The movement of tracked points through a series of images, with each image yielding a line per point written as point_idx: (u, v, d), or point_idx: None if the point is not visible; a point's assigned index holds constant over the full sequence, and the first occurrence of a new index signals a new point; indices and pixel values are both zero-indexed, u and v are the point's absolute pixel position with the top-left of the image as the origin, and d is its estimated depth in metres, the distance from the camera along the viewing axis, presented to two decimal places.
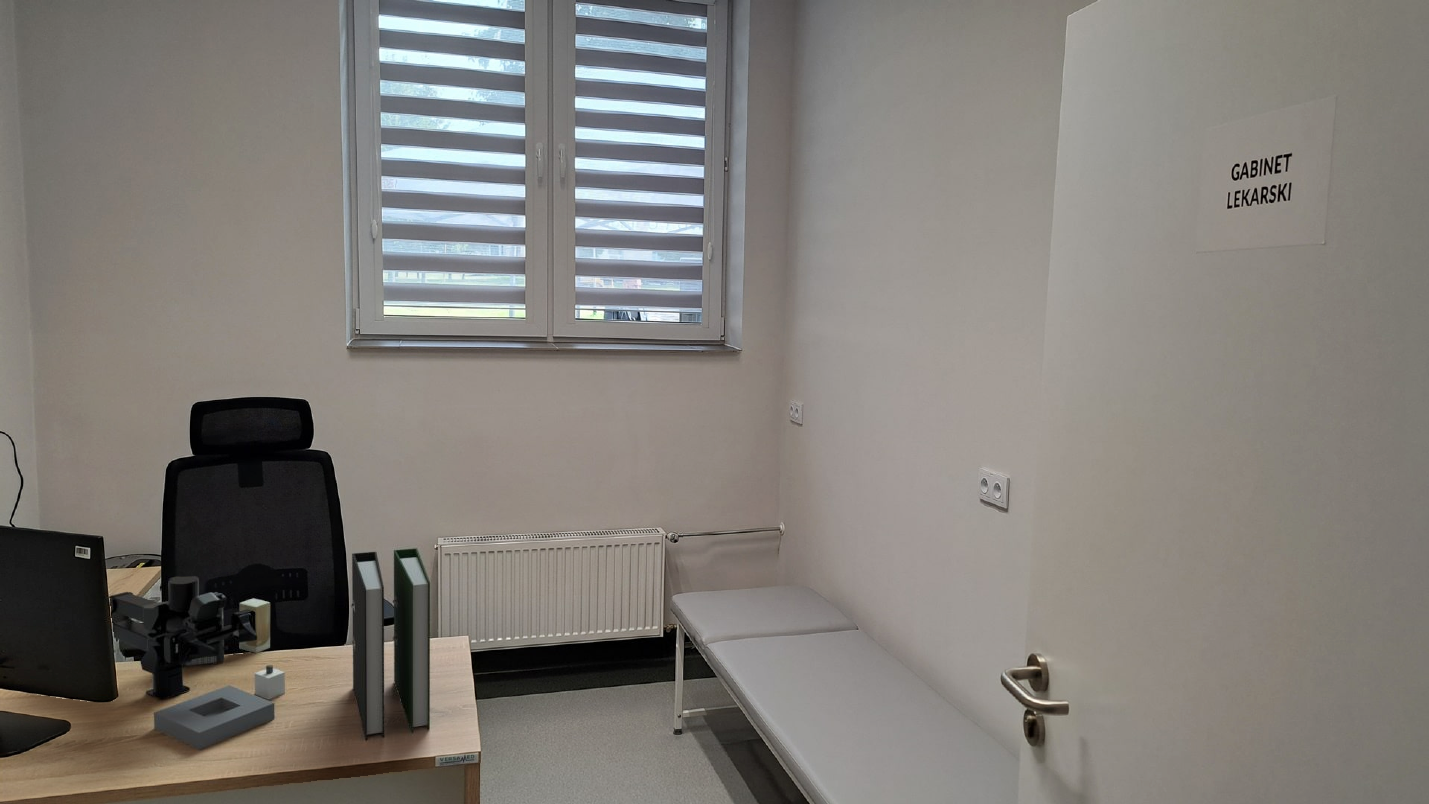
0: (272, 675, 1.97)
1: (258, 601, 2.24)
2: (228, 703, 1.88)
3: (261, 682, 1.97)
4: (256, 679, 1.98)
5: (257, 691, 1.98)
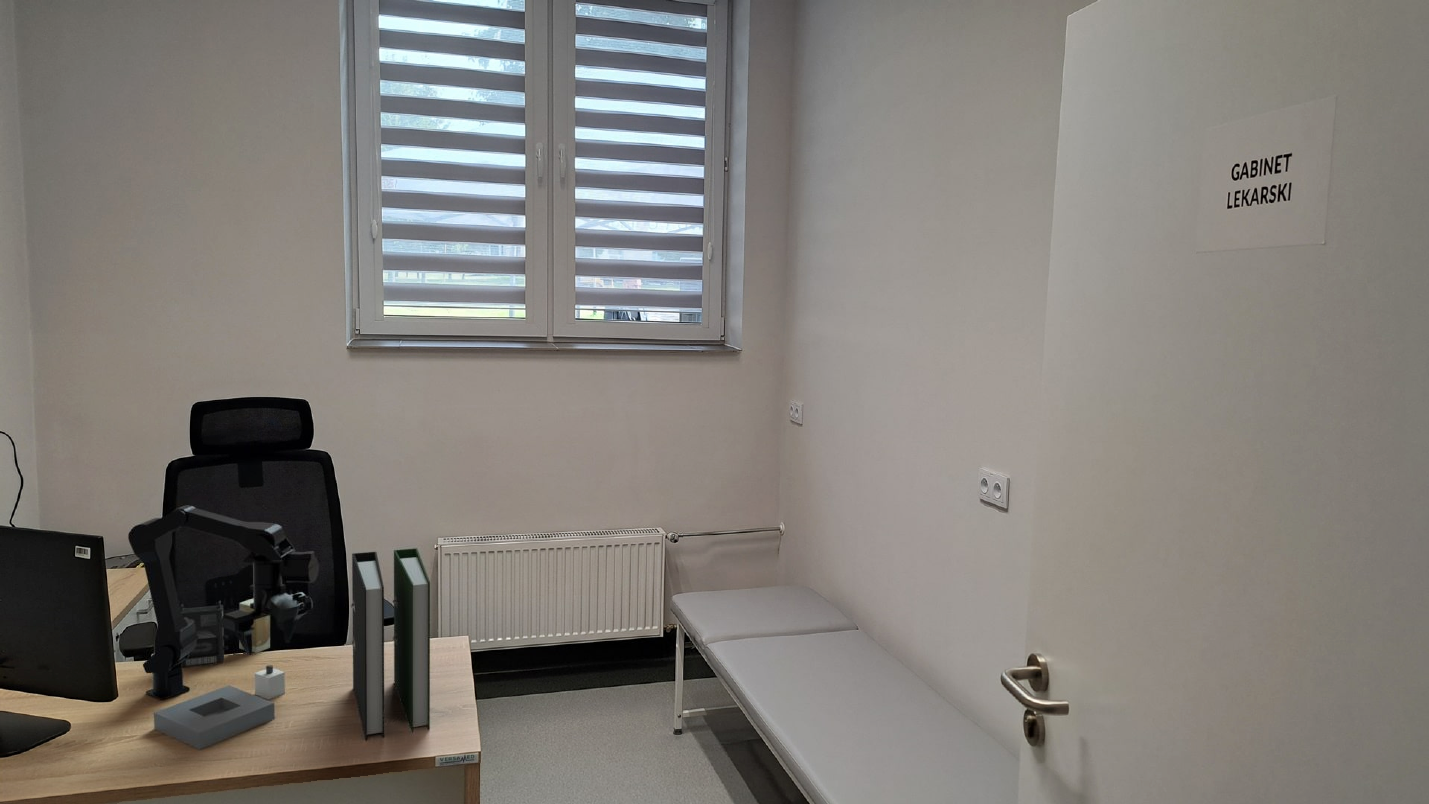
0: (272, 675, 1.97)
1: None
2: (228, 703, 1.88)
3: (261, 682, 1.97)
4: (256, 679, 1.98)
5: (257, 691, 1.98)
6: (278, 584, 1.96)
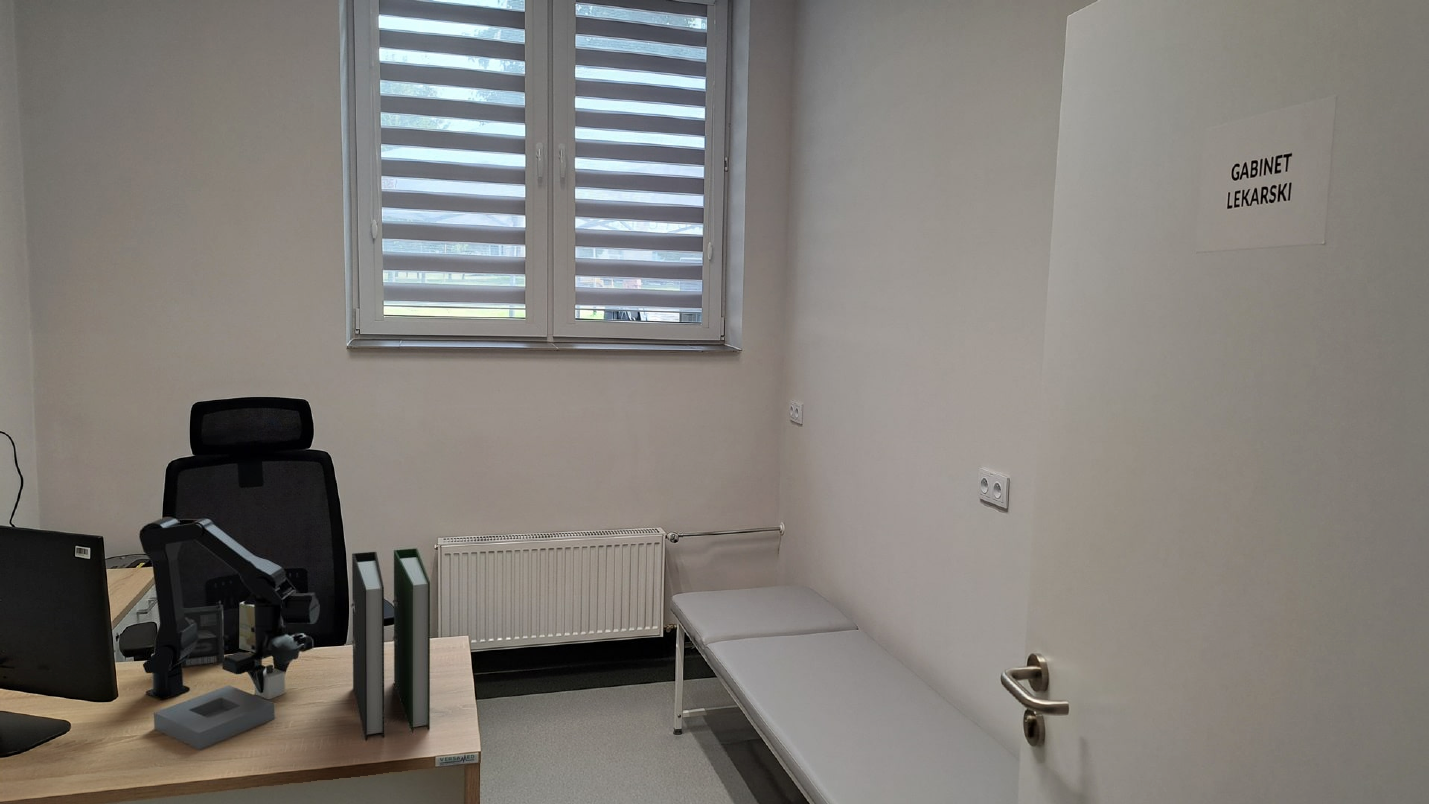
0: (272, 675, 1.97)
1: None
2: (228, 703, 1.88)
3: None
4: None
5: (257, 691, 1.98)
6: (279, 625, 1.97)
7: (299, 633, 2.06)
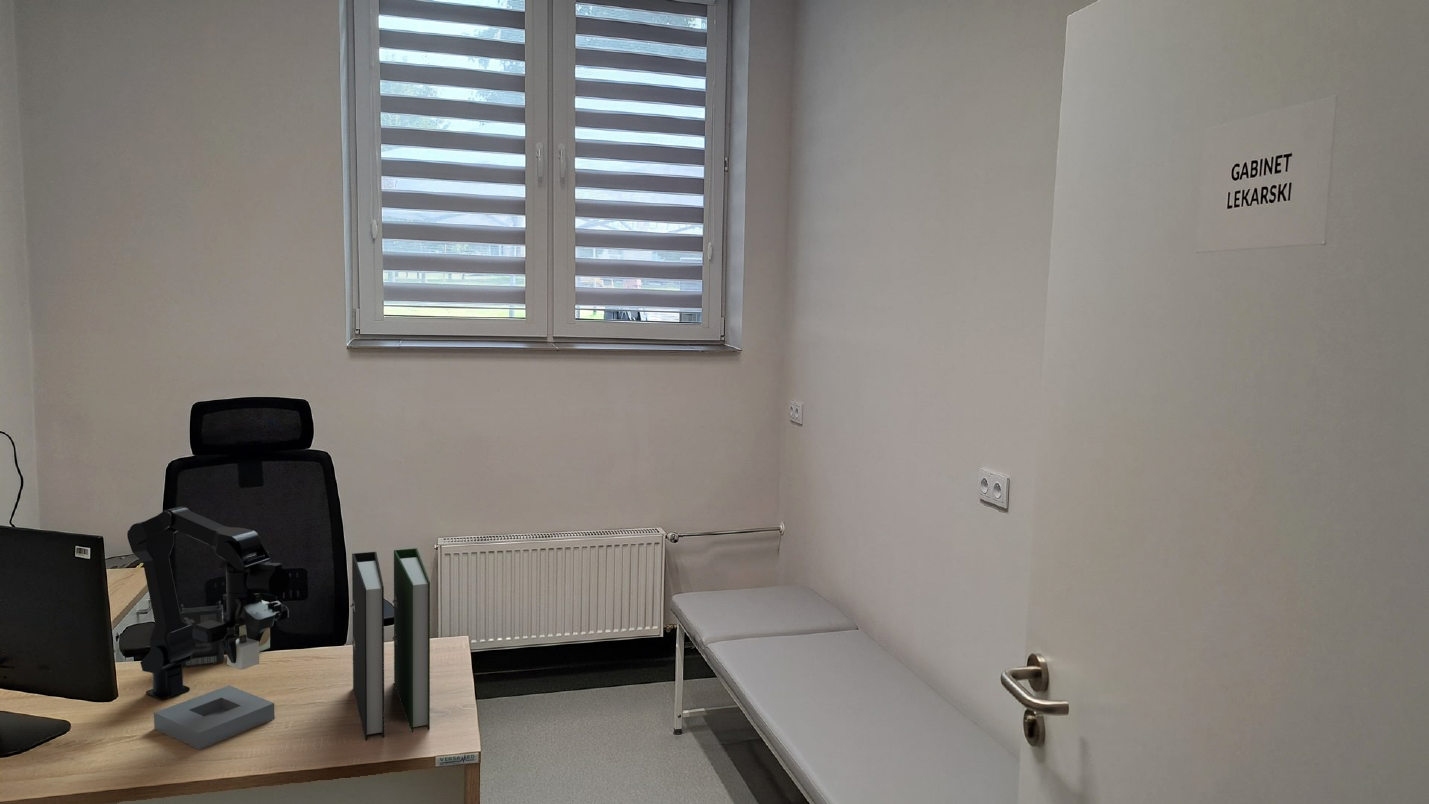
0: (245, 644, 1.89)
1: None
2: (228, 703, 1.88)
3: None
4: None
5: (230, 661, 1.90)
6: (252, 593, 1.89)
7: None
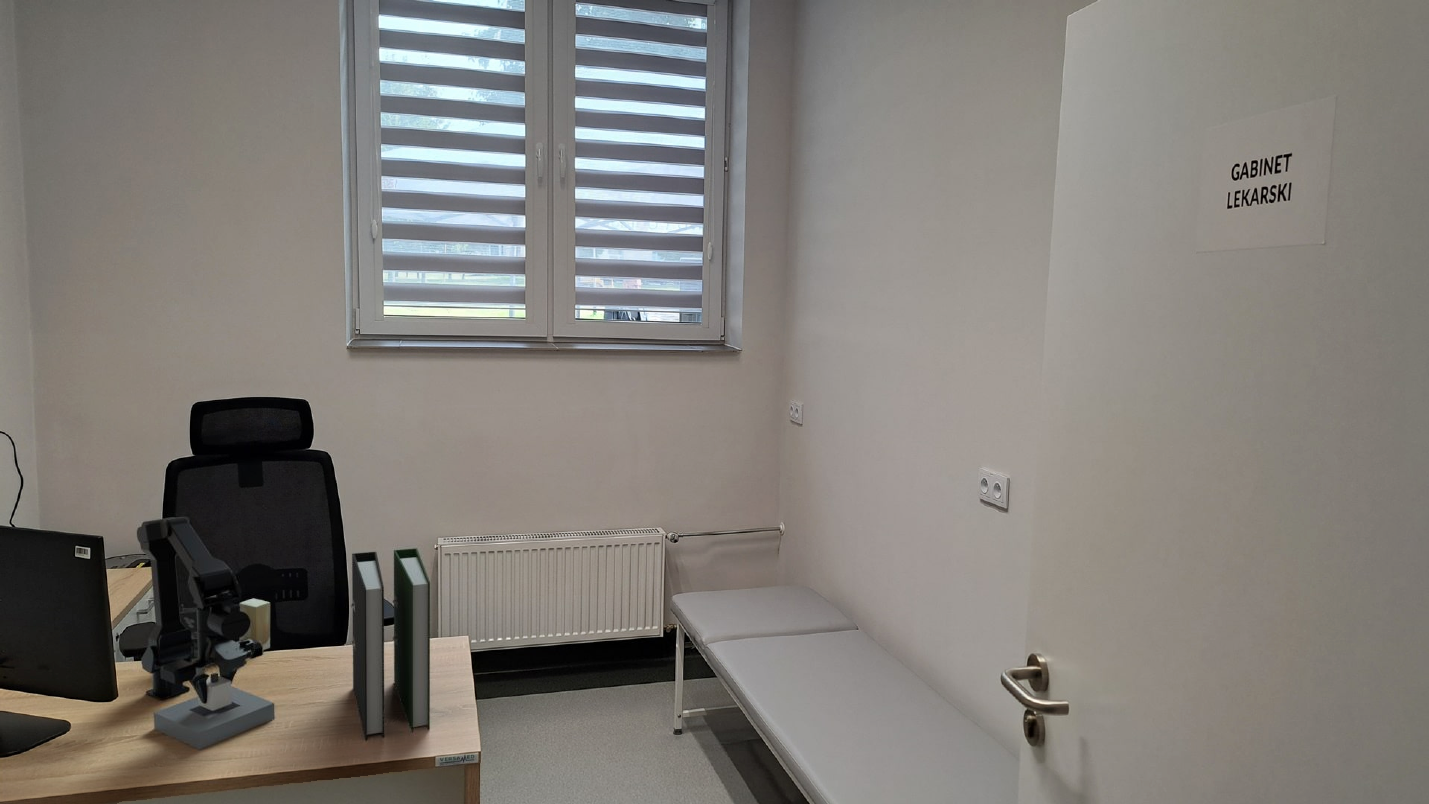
0: (217, 684, 1.82)
1: (258, 601, 2.24)
2: None
3: None
4: None
5: None
6: None
7: (248, 638, 1.91)
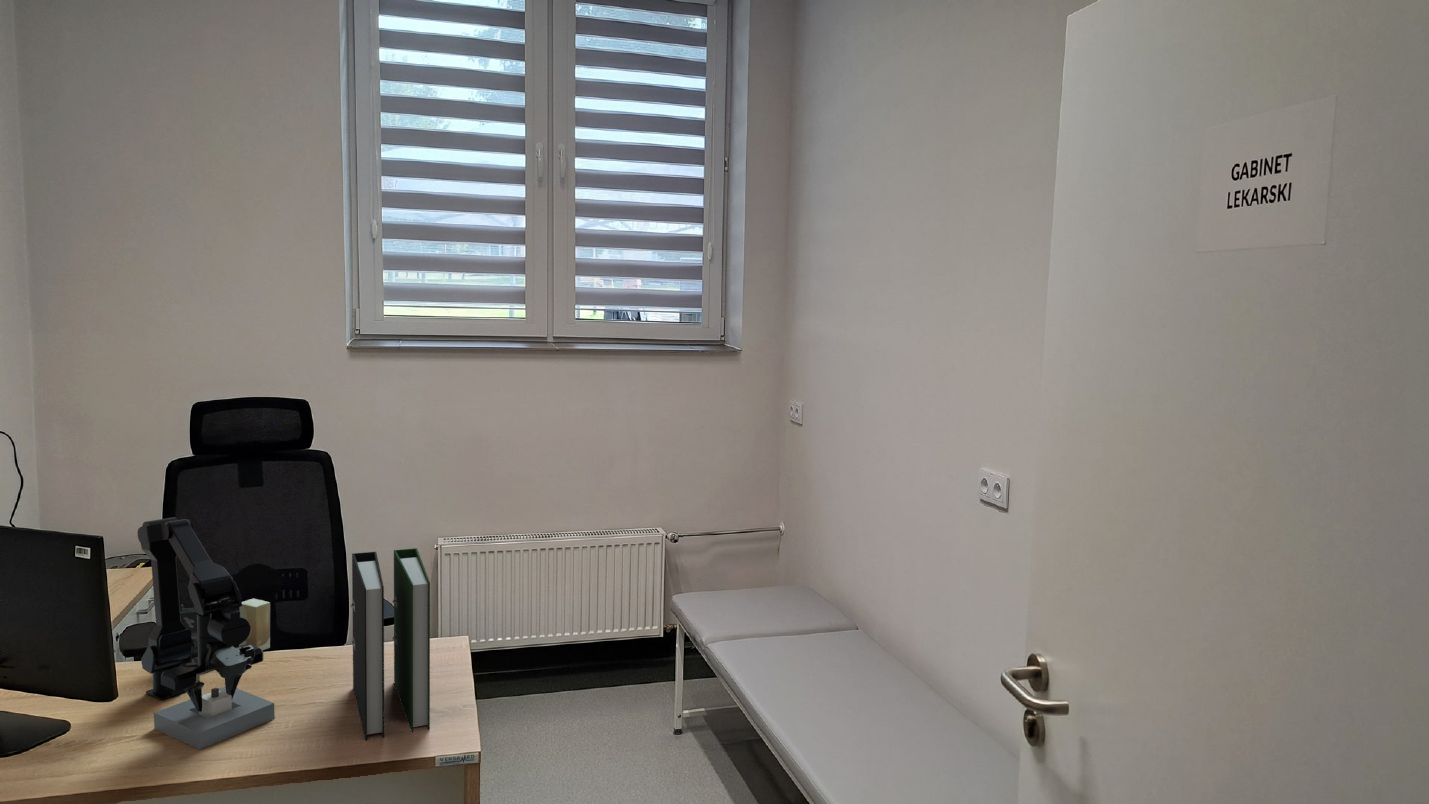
0: (217, 699, 1.82)
1: (258, 601, 2.24)
2: None
3: (205, 706, 1.82)
4: None
5: None
6: None
7: (248, 644, 1.91)
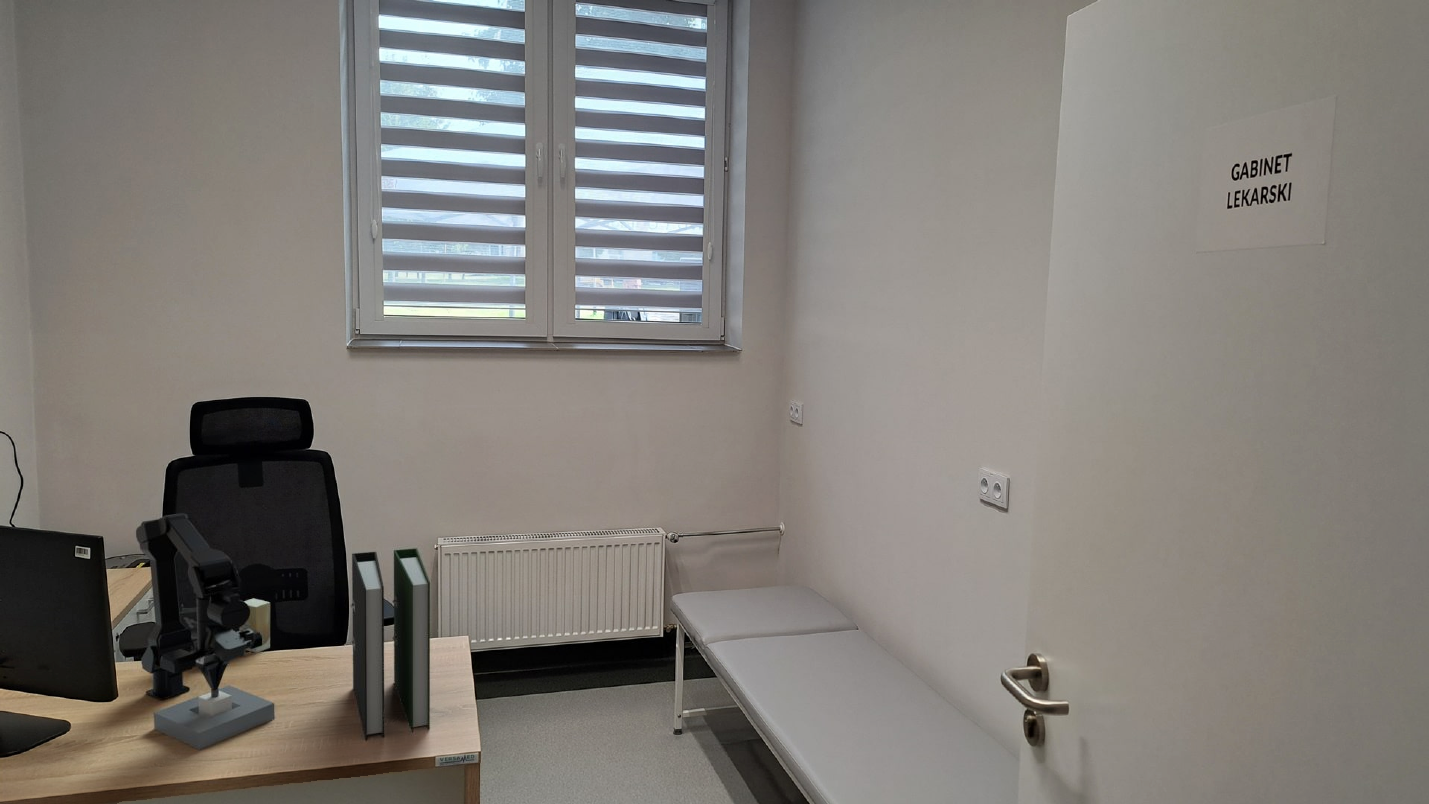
0: (217, 699, 1.82)
1: (258, 601, 2.24)
2: None
3: (205, 706, 1.82)
4: (200, 703, 1.83)
5: None
6: None
7: (248, 629, 1.91)
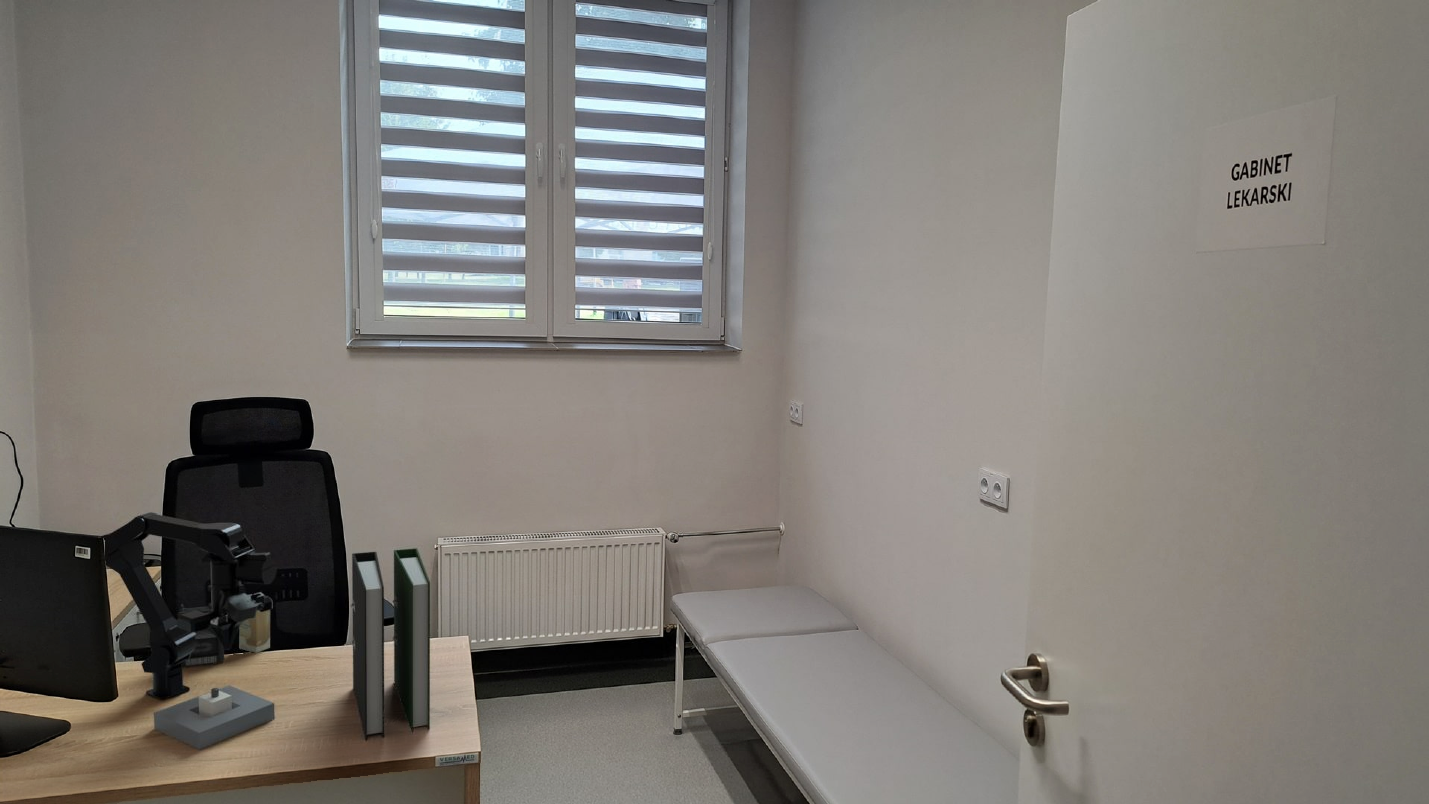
0: (217, 699, 1.82)
1: None
2: None
3: (205, 706, 1.82)
4: (200, 703, 1.83)
5: None
6: (236, 584, 1.94)
7: None
